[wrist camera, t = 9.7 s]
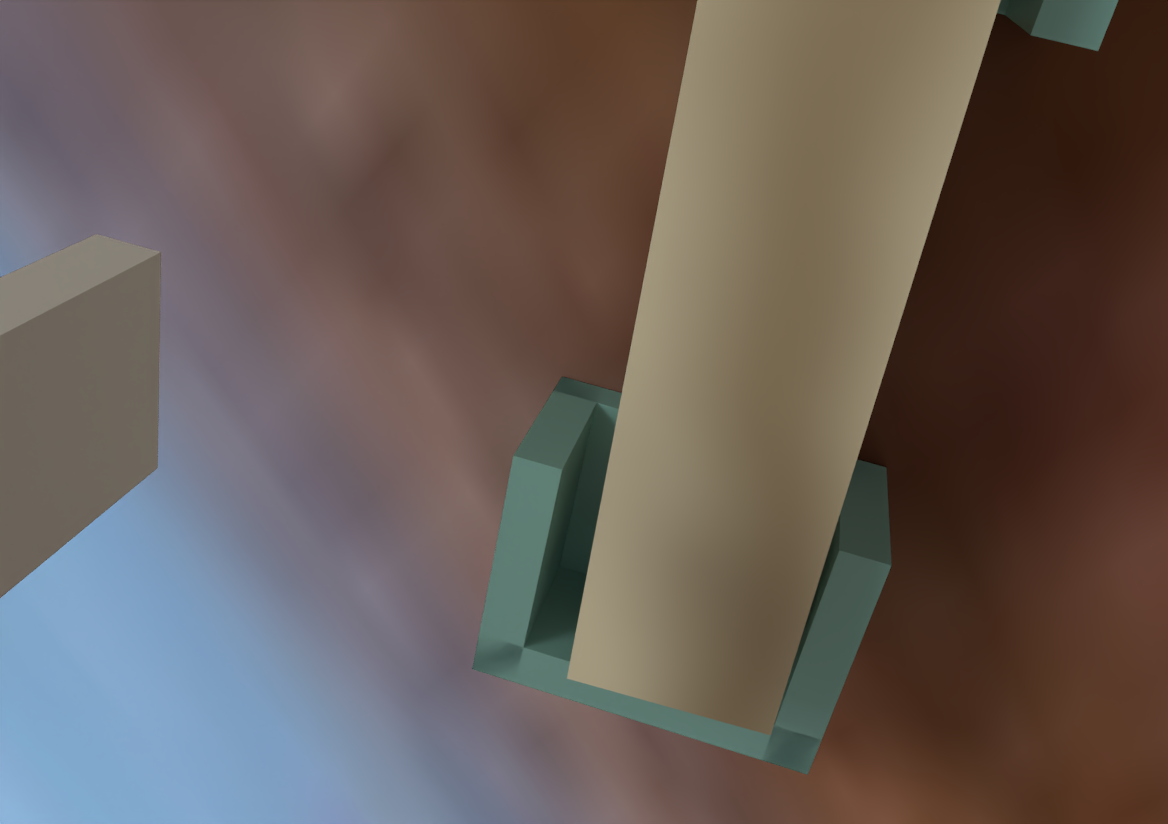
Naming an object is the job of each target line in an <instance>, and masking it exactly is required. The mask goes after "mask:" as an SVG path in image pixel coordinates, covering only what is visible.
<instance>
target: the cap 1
mask: <svg viewBox="0 0 1168 824" xmlns="http://www.w3.org/2000/svg"><path fill="white" fill-rule="evenodd" d="M621 395H622V393H619V392H616V391H612V390H609V389H605V388H601V387H598V386H594V385H591V384H587V383H584V382H580V381H577V380H573V379H569V378H566V377H561V379H560V381H559V382H558V384H557V386H556V387H555V389H554V390H553V392H552V394H551V395H550V397H549V399H548V400H547V402H546V404H545V405H544V407H543V408H542V410H541V412H540V413H539V415H538V417H537V418H536V420H535V421H534V423H533V425H532V426H531V428H530V430H529V431H528V433H527V434H526V436H525V438H524V439H523V441H522V443H521V444H520V446H519V447H518V449H517V451H516V452H515V454H514V456H513V461H512V466H511V471H510V476H509V481H508V487H507V492H506V497H505V502H504V507H503V513H502V518H501V523H500V528H499V533H498V539H497V544H496V549H495V554H494V559H493V564H492V570H491V575H490V580H489V585H488V590H487V596H486V601H485V606H484V611H483V616H482V622H481V627H480V632H479V637H478V642H477V648H476V653H475V658H474V663H473V668H472V669H474V670H477V671H480V672H483V673H487V674H490V675H493V676H496V677H499V678H503V679H506V680H509V681H512V682H515V683H518V684H522V685H525V686H528V687H531V688H534V689H537V690H541V691H544V692H547V693H550V694H553V695H556V696H560V697H563V698H566V699H569V700H572V701H576V702H579V703H582V704H585V705H588V706H591V707H595V708H598V709H601V710H604V711H607V712H610V713H614V714H617V715H620V716H623V717H626V718H629V719H633V720H636V721H639V722H642V723H645V724H649V725H652V726H655V727H658V728H661V729H664V730H668V731H671V732H674V733H677V734H680V735H683V736H687V737H690V738H693V739H696V740H699V741H703V742H706V743H709V744H712V745H715V746H718V747H722V748H725V749H728V750H731V751H734V752H737V753H741V754H744V755H747V756H750V757H753V758H756V759H760V760H763V761H766V762H769V763H772V764H776V765H779V766H782V767H785V768H788V769H791V770H795V771H798V772H801V773H804V774H807V775H808V773H809V770H810V768H811V765H812V763H813V760H814V758H815V755H816V753H817V750H818V748H819V745H820V743H821V740H822V738H823V735H824V733H825V730H826V728H827V725H828V723H829V720H830V718H831V715H832V713H833V710H834V708H835V705H836V703H837V700H838V698H839V695H840V693H841V690H842V688H843V685H844V683H845V680H846V678H847V675H848V673H849V670H850V668H851V665H852V663H853V660H854V658H855V655H856V653H857V650H858V648H859V646H860V643H861V641H862V638H863V636H864V633H865V631H866V628H867V626H868V623H869V621H870V618H871V616H872V613H873V611H874V608H875V606H876V603H877V601H878V598H879V596H880V593H881V591H882V588H883V586H884V583H885V581H886V578H887V576H888V573H889V571H890V568H891V566H892V564H891V545H890V526H889V506H888V487H887V468H886V467H883V466H879V465H876V464H872V463H869V462H865V461H861V460H858V459H857V461H856V464H855V467H854V471H853V474H852V477H851V480H850V483H849V487H848V490H847V493H846V496H845V499H844V503H843V506H842V509H841V512H840V515H839V518H838V522H837V525H836V528H835V531H834V534H833V538H832V541H831V544H830V547H829V550H828V554H827V557H826V560H825V563H824V566H823V570H822V573H821V576H820V579H819V582H818V586H817V589H816V592H815V595H814V598H813V602H812V605H811V608H810V611H809V614H808V618H807V621H806V624H805V627H804V630H803V634H802V637H801V640H800V643H799V646H798V650H797V653H796V656H795V659H794V662H793V665H792V669H791V672H790V675H789V678H788V681H787V685H786V688H785V691H784V694H783V697H782V701H781V704H780V707H779V710H778V713H777V717H776V720H775V723H774V726H773V729H772V733H771V735H767V734H764V733H760V732H757V731H753V730H749V729H746V728H742V727H739V726H735V725H732V724H728V723H724V722H721V721H717V720H714V719H710V718H706V717H703V716H699V715H696V714H692V713H689V712H685V711H681V710H678V709H674V708H671V707H667V706H663V705H660V704H656V703H653V702H649V701H646V700H642V699H638V698H635V697H631V696H628V695H624V694H621V693H617V692H613V691H610V690H606V689H603V688H599V687H595V686H592V685H588V684H585V683H581V682H578V681H574V680H570V679H567V675H568V670H569V665H570V659H571V654H572V649H573V644H574V639H575V633H576V628H577V623H578V618H579V613H580V607H581V602H582V597H583V592H584V587H585V582H586V576H587V571H588V566H589V561H590V556H591V550H592V545H593V540H594V535H595V530H596V525H597V519H598V514H599V509H600V504H601V499H602V493H603V488H604V483H605V478H606V473H607V467H608V462H609V457H610V452H611V447H612V442H613V436H614V431H615V426H616V421H617V416H618V410H619V405H620V400H621Z"/></svg>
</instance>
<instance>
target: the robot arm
mask: <svg viewBox="0 0 1168 824" xmlns="http://www.w3.org/2000/svg"><path fill="white" fill-rule="evenodd" d="M160 279H161V252H159V251H155V250H151V249H148V248H144V247H141V246H137V245H133V244H130V243H126V242H122V241H119V240H115V239H112V238H108V237H104V236H101V235H97V234H96V235H94V236H91V237H89V238H87V239H85V240H82V241H80V242H78V243H76V244H74V245H71V246H69V247H67V248H65V249H62V250H60V251H58V252H56V253H54V254H51V255H49V256H47V257H45V258H42V259H40V260H38V261H36V262H34V263H31V264H29V265H27V266H25V267H22V268H20V269H18V270H16V271H14V272H11V273H9V274H7V275H5V276H2V277H0V598H1V597H2V596H3V595H4V594H6V593H7V592H8V591H9V590H11V589H12V588H13V587H14V586H15V585H17V584H18V583H19V582H20V581H21V580H23V579H24V578H25V577H26V576H27V575H29V574H30V573H31V572H32V571H33V570H35V569H36V568H37V567H38V566H40V565H41V564H42V563H43V562H44V561H46V560H47V559H48V558H49V557H50V556H52V555H53V554H54V553H55V552H56V551H58V550H59V549H60V548H61V547H63V546H64V545H65V544H66V543H67V542H69V541H70V540H71V539H72V538H73V537H75V536H76V535H77V534H78V533H79V532H81V531H82V530H83V529H84V528H85V527H87V526H88V525H89V524H90V523H92V522H93V521H94V520H95V519H96V518H98V517H99V516H100V515H101V514H102V513H104V512H105V511H106V510H107V509H108V508H110V507H111V506H112V505H113V504H115V503H116V502H117V501H118V500H119V499H121V498H122V497H123V496H124V495H125V494H127V493H128V492H129V491H130V490H131V489H133V488H134V487H135V486H136V485H137V484H139V483H140V482H141V481H142V480H144V479H145V478H146V477H147V476H148V475H150V474H151V473H152V472H153V471H154V470H156V469H157V468H158V405H159V342H160Z"/></svg>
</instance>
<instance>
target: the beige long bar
mask: <svg viewBox="0 0 1168 824" xmlns="http://www.w3.org/2000/svg"><path fill="white" fill-rule="evenodd" d="M1000 1H1001V0H698V1H697V6H696V11H695V16H694V22H693V27H692V32H691V37H690V42H689V48H688V53H687V58H686V63H685V68H684V73H683V79H682V84H681V89H680V94H679V99H678V105H677V110H676V115H675V120H674V125H673V130H672V136H671V141H670V146H669V151H668V156H667V162H666V167H665V172H664V177H663V182H662V188H661V193H660V198H659V203H658V208H657V213H656V219H655V224H654V229H653V234H652V239H651V245H650V250H649V255H648V260H647V265H646V270H645V276H644V281H643V286H642V291H641V296H640V302H639V307H638V312H637V317H636V322H635V328H634V333H633V338H632V343H631V348H630V353H629V359H628V364H627V369H626V374H625V379H624V385H623V390H622V395H621V400H620V405H619V410H618V416H617V421H616V426H615V431H614V436H613V442H612V447H611V452H610V457H609V462H608V467H607V473H606V478H605V483H604V488H603V493H602V499H601V504H600V509H599V514H598V519H597V525H596V530H595V535H594V540H593V545H592V550H591V556H590V561H589V566H588V571H587V576H586V582H585V587H584V592H583V597H582V602H581V607H580V613H579V618H578V623H577V628H576V633H575V639H574V644H573V649H572V654H571V659H570V665H569V670H568V675H567V679H570V680H574V681H578V682H581V683H585V684H588V685H592V686H595V687H599V688H603V689H606V690H610V691H613V692H617V693H621V694H624V695H628V696H631V697H635V698H638V699H642V700H646V701H649V702H653V703H656V704H660V705H663V706H667V707H671V708H674V709H678V710H681V711H685V712H689V713H692V714H696V715H699V716H703V717H706V718H710V719H714V720H717V721H721V722H724V723H728V724H732V725H735V726H739V727H742V728H746V729H749V730H753V731H757V732H760V733H764V734H767V735H771V733H772V729H773V726H774V723H775V720H776V717H777V713H778V710H779V707H780V704H781V701H782V697H783V694H784V691H785V688H786V685H787V681H788V678H789V675H790V672H791V669H792V665H793V662H794V659H795V656H796V653H797V650H798V646H799V643H800V640H801V637H802V634H803V630H804V627H805V624H806V621H807V618H808V614H809V611H810V608H811V605H812V602H813V598H814V595H815V592H816V589H817V586H818V582H819V579H820V576H821V573H822V570H823V566H824V563H825V560H826V557H827V554H828V550H829V547H830V544H831V541H832V538H833V534H834V531H835V528H836V525H837V522H838V518H839V515H840V512H841V509H842V506H843V503H844V499H845V496H846V493H847V490H848V487H849V483H850V480H851V477H852V474H853V471H854V467H855V464H856V461H857V458H858V455H859V451H860V448H861V445H862V442H863V439H864V435H865V432H866V429H867V426H868V423H869V419H870V416H871V413H872V410H873V407H874V403H875V400H876V397H877V394H878V391H879V387H880V384H881V381H882V378H883V375H884V372H885V368H886V365H887V362H888V359H889V356H890V352H891V349H892V346H893V343H894V340H895V336H896V333H897V330H898V327H899V324H900V320H901V317H902V314H903V311H904V308H905V304H906V301H907V298H908V295H909V292H910V288H911V285H912V282H913V279H914V276H915V272H916V269H917V266H918V263H919V260H920V256H921V253H922V250H923V247H924V244H925V241H926V237H927V234H928V231H929V228H930V225H931V221H932V218H933V215H934V212H935V209H936V205H937V202H938V199H939V196H940V193H941V189H942V186H943V183H944V180H945V177H946V173H947V170H948V167H949V164H950V161H951V157H952V154H953V151H954V148H955V145H956V141H957V138H958V135H959V132H960V129H961V125H962V122H963V119H964V116H965V113H966V110H967V106H968V103H969V100H970V97H971V94H972V90H973V87H974V84H975V81H976V78H977V74H978V71H979V68H980V65H981V62H982V58H983V55H984V52H985V49H986V46H987V42H988V39H989V36H990V33H991V30H992V26H993V23H994V20H995V17H996V14H997V10H998V7H999V4H1000Z"/></svg>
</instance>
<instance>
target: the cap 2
mask: <svg viewBox="0 0 1168 824" xmlns="http://www.w3.org/2000/svg"><path fill="white" fill-rule="evenodd" d="M1117 3H1118V0H1001V1H1000V4H999V7H998V10H997V13H999V14H1003V15H1006V16H1007V17H1008V18H1009V19H1011V20H1012V21H1013V22H1014V23H1016V24H1017V25H1018V26H1020V27H1021V28H1022V29H1023V30H1025V31H1026V32H1027V33H1028V34H1030V35H1032V36H1036V37H1040V38H1044V39H1049V40H1053V41H1057V42H1062V43H1066V44H1070V45H1074V46H1079V47H1083V48H1087V49H1092V50H1096V51H1098V50H1099V48H1100V45H1101V43H1102V40H1103V38H1104V35H1105V33H1106V30H1107V28H1108V25H1109V23H1110V20H1111V18H1112V15H1113V13H1114V10H1115V8H1116V5H1117Z"/></svg>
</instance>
